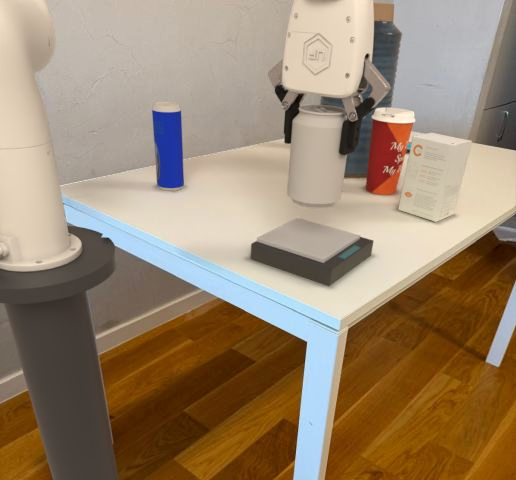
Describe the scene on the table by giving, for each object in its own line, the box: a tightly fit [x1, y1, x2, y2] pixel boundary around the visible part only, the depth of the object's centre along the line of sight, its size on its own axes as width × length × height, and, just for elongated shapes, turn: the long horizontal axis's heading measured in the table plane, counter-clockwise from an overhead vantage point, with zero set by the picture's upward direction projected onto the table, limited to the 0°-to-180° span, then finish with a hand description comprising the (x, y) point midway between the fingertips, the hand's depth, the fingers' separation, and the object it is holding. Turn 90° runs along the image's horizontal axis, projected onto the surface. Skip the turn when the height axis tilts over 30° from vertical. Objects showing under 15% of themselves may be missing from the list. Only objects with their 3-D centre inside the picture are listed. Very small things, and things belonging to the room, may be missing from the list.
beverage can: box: [151, 101, 185, 192], centre depth 94 cm, size 5×5×15 cm
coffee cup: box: [365, 107, 416, 196], centre depth 99 cm, size 8×8×15 cm
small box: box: [398, 132, 473, 223], centre depth 89 cm, size 8×6×13 cm
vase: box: [318, 2, 403, 178], centre depth 107 cm, size 16×16×32 cm
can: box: [286, 104, 347, 209], centre depth 67 cm, size 8×8×12 cm
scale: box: [250, 217, 374, 287], centre depth 73 cm, size 13×13×3 cm
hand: (319, 146), depth 66 cm, fingers closed on can, 7 cm apart
